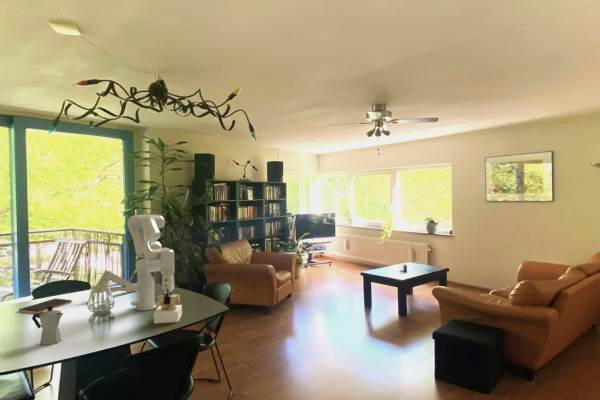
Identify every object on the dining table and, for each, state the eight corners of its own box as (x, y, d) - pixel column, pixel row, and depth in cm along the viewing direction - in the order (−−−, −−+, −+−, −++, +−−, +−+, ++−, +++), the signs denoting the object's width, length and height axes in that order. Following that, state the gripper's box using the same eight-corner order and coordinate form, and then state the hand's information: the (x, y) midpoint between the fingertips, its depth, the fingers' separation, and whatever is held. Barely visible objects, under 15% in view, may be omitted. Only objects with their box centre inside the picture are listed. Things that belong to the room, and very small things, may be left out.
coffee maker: (69, 338, 176) (68, 302, 176) (58, 345, 167) (57, 308, 167) (39, 338, 176) (38, 303, 175) (26, 346, 167) (25, 309, 167)
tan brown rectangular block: (156, 312, 198) (156, 297, 198) (158, 309, 203) (158, 295, 203) (178, 311, 200) (178, 296, 200) (180, 308, 205) (179, 294, 205)
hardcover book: (72, 303, 235) (72, 300, 235) (37, 315, 213) (37, 311, 213) (55, 301, 240) (54, 298, 239) (19, 312, 218) (18, 308, 218)
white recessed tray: (153, 323, 195) (153, 312, 195) (159, 316, 207) (159, 306, 207) (178, 322, 197) (177, 311, 197) (181, 314, 209) (181, 304, 209)
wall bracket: (125, 316, 253) (90, 302, 232) (121, 315, 256) (86, 301, 234) (141, 287, 264) (108, 271, 243) (137, 287, 266) (105, 270, 245)
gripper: (171, 273, 194) (171, 306, 194) (177, 267, 211) (177, 297, 211) (157, 274, 193) (157, 307, 193) (164, 268, 209) (164, 298, 210)
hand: (168, 302), depth 202 cm, fingers closed on tan brown rectangular block, 5 cm apart
